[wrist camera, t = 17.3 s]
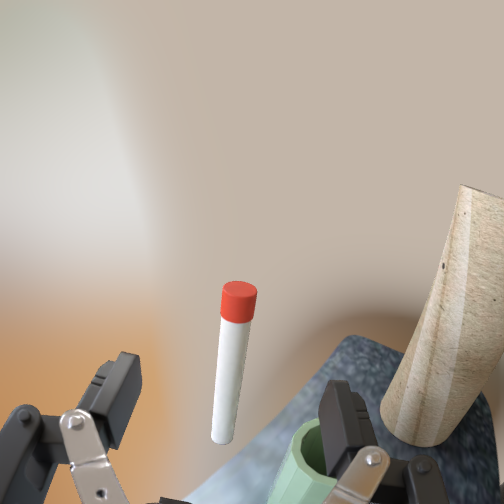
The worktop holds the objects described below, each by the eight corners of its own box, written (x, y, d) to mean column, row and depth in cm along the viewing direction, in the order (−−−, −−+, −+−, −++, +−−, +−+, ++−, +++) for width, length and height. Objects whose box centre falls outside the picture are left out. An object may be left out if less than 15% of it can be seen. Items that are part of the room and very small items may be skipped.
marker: (236, 431, 27) (260, 284, 21) (230, 448, 25) (253, 300, 19) (214, 425, 27) (228, 278, 22) (207, 442, 25) (218, 292, 20)
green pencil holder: (334, 483, 22) (375, 420, 18) (330, 537, 16) (381, 489, 13) (272, 475, 22) (296, 409, 19) (259, 529, 17) (285, 480, 14)
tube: (406, 458, 24) (528, 211, 15) (365, 395, 33) (439, 177, 24) (466, 430, 26) (566, 226, 17) (425, 381, 35) (495, 195, 26)
